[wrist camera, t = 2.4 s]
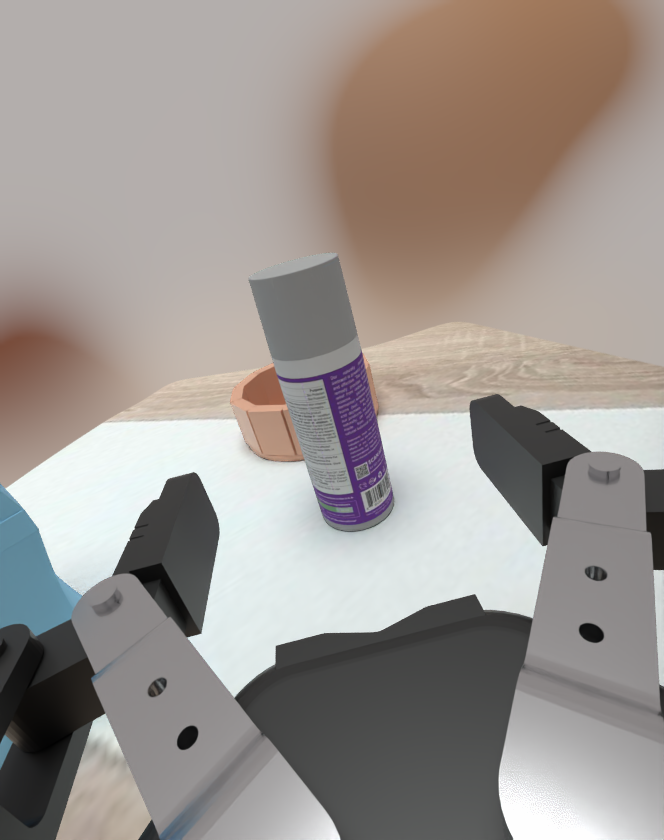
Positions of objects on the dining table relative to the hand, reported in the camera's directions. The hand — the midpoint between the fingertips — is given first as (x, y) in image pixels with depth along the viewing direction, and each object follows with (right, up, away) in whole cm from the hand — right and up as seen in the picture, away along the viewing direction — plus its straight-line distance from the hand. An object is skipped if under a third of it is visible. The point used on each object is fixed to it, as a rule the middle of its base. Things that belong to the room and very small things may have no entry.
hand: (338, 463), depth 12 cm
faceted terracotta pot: (-2, +1, +27) cm, 27 cm away
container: (+2, -4, +15) cm, 16 cm away
